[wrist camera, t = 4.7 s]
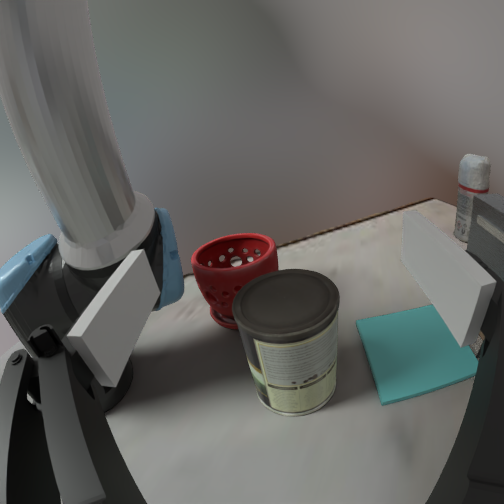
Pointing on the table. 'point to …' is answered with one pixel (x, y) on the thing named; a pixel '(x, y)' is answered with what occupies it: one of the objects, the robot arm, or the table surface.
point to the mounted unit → (488, 232)
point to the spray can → (470, 190)
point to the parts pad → (413, 354)
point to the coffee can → (290, 338)
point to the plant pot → (231, 270)
